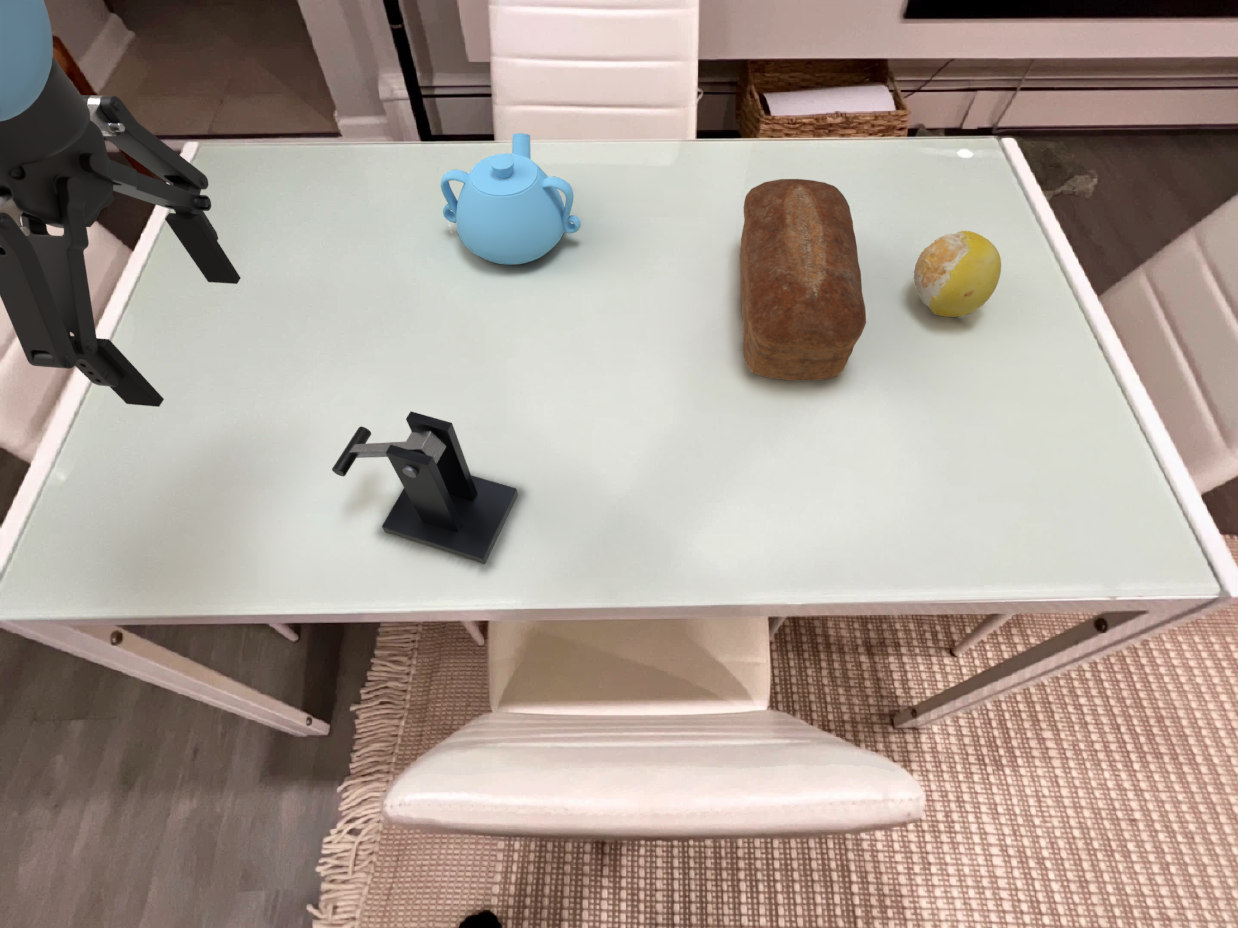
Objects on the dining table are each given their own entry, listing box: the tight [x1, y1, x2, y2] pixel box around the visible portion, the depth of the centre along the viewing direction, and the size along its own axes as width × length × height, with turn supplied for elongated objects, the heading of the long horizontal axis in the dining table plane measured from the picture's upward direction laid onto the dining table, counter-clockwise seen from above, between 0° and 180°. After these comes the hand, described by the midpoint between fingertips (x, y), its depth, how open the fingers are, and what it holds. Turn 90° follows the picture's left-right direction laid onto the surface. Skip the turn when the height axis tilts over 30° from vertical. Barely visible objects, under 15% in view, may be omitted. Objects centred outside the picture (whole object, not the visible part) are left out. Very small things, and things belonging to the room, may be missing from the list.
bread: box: [739, 178, 867, 382], centre depth 89 cm, size 14×28×12 cm, turn 176°
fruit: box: [913, 230, 1002, 318], centre depth 90 cm, size 10×11×10 cm
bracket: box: [381, 411, 519, 564], centre depth 72 cm, size 12×9×15 cm
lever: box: [331, 426, 446, 477], centre depth 70 cm, size 13×6×2 cm, turn 71°
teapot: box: [440, 132, 582, 266], centre depth 98 cm, size 20×20×13 cm
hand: (187, 337), depth 58 cm, fingers open, 13 cm apart
